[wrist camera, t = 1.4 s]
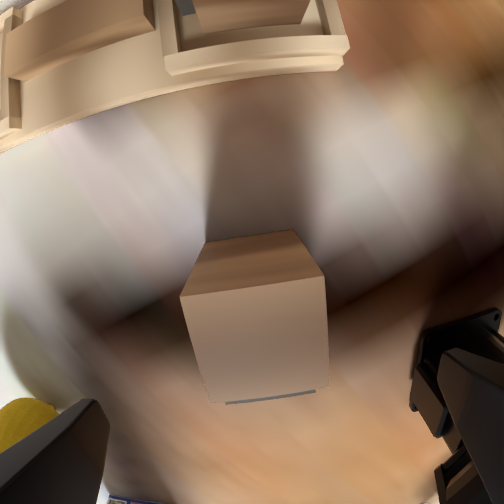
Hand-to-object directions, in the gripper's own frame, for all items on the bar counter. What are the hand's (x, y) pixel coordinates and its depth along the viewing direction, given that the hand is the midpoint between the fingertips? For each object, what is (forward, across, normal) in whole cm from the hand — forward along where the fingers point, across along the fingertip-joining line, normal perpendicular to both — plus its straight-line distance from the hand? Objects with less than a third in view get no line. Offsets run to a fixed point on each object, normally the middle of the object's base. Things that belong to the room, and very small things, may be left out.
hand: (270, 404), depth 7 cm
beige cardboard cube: (+8, 0, 0) cm, 8 cm away
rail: (+8, +6, -13) cm, 17 cm away
